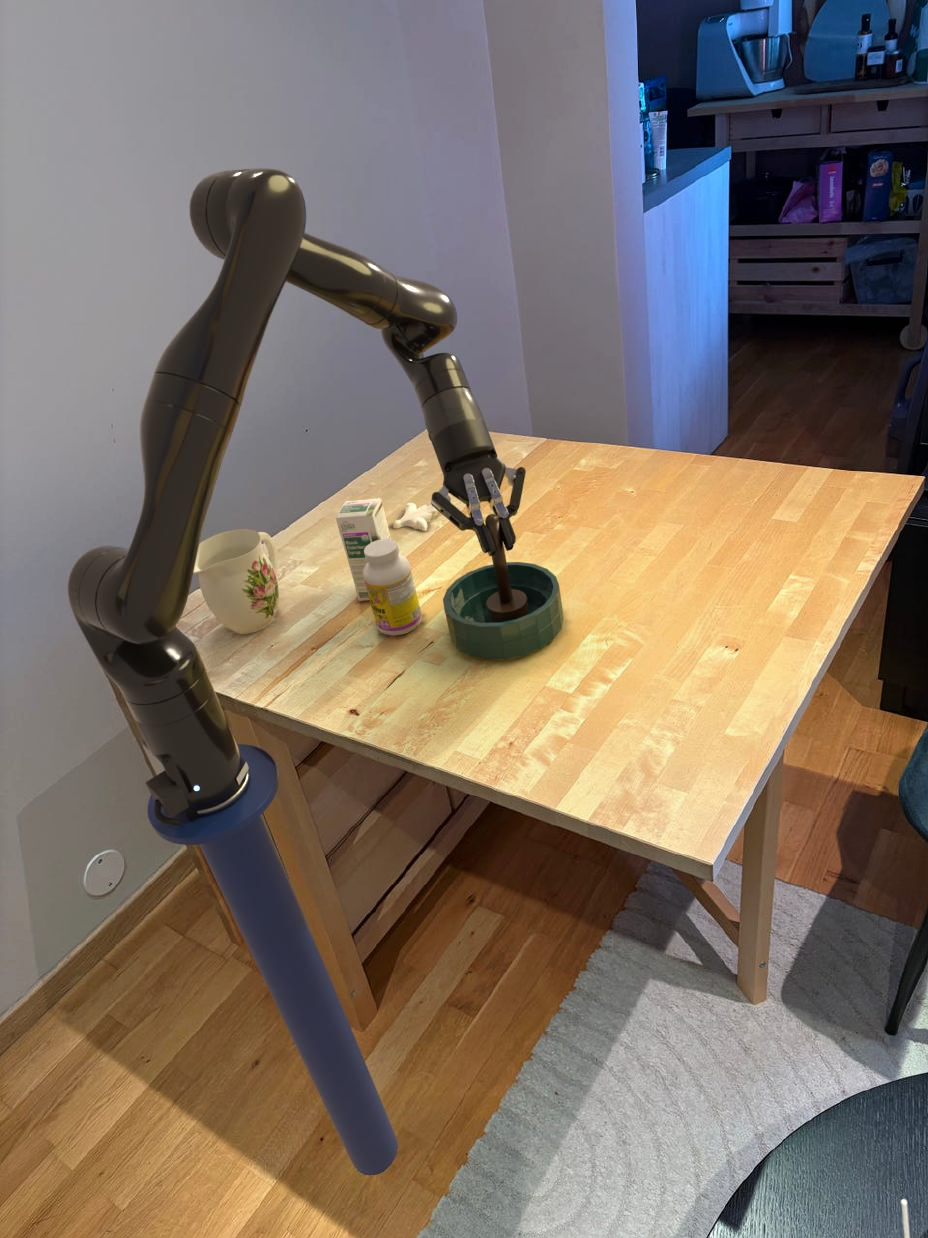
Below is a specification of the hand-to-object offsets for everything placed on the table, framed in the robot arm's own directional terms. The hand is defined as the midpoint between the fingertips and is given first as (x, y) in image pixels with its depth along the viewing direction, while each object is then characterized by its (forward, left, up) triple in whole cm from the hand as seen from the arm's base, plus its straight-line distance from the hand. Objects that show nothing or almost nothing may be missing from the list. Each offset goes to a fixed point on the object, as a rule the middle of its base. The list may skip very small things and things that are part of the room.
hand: (501, 550), depth 118 cm
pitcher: (-20, +37, -13) cm, 44 cm away
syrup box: (-4, +26, -13) cm, 29 cm away
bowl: (0, +2, -13) cm, 13 cm away
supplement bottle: (-8, +16, -13) cm, 22 cm away
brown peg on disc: (+1, +2, -11) cm, 11 cm away
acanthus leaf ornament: (+14, +39, -13) cm, 43 cm away
